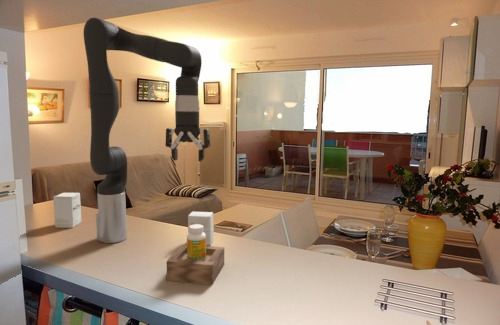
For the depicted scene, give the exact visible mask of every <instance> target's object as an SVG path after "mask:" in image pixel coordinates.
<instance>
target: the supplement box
mask: <svg viewBox="0 0 500 325" xmlns="http://www.w3.org/2000/svg"><path fill="white" fill-rule="evenodd" d="M52 199H53V213H54V226H55V228H57V229H58V228H59V229H60V228H64V229H66V228H67V229H69V228H71V229H72V228H75V227H76V226H77V225H79V224H81V223H82V209H81V208H82V207H81V203H82V202H81V193H80V192H61V193H59V194H57V195H54V196H53V198H52Z"/></svg>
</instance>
